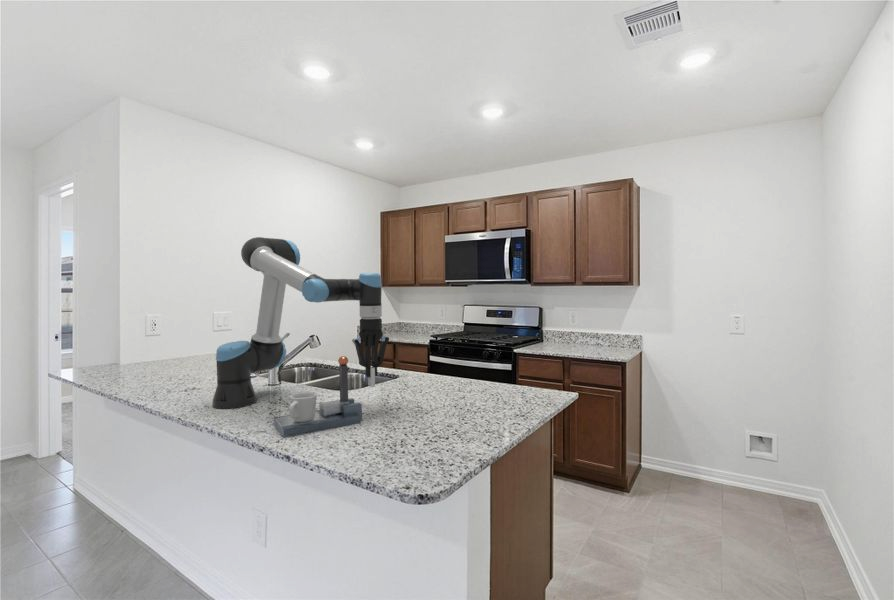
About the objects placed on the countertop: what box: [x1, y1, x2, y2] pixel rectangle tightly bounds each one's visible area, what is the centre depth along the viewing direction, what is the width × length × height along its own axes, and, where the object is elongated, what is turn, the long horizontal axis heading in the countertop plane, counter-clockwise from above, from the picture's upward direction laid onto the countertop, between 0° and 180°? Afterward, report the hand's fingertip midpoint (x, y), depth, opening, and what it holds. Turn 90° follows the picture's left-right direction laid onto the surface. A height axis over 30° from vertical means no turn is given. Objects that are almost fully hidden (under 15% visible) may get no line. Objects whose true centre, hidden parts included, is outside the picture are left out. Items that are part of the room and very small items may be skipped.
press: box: [273, 397, 363, 439], centre depth 143 cm, size 14×26×6 cm, turn 122°
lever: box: [318, 355, 349, 417], centre depth 145 cm, size 5×9×18 cm, turn 123°
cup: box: [288, 391, 317, 422], centre depth 136 cm, size 11×8×8 cm
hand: (371, 385), depth 153 cm, fingers closed
